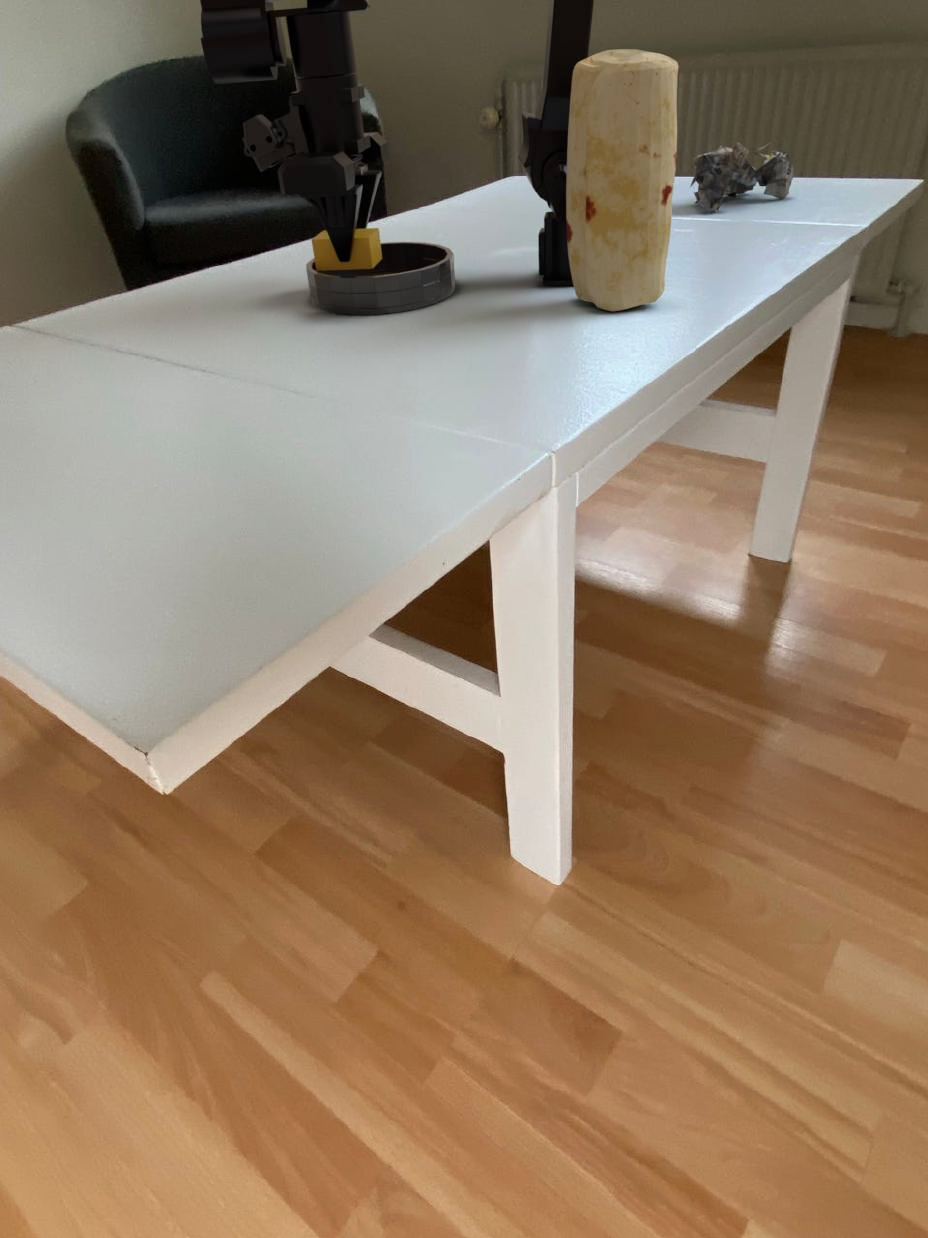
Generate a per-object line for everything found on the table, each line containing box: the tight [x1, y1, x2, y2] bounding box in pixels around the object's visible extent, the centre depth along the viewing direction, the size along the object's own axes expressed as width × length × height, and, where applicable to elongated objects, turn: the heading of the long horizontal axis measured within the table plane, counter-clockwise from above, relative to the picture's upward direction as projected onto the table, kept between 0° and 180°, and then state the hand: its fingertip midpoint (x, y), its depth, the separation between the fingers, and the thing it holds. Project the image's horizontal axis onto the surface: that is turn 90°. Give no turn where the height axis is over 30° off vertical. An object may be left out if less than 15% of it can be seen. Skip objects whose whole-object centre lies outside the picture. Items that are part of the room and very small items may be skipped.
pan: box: [305, 241, 456, 316], centre depth 85 cm, size 15×15×4 cm
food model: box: [566, 48, 680, 313], centre depth 72 cm, size 10×7×20 cm
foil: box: [688, 141, 795, 214], centre depth 111 cm, size 12×11×15 cm
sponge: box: [311, 227, 382, 271], centre depth 84 cm, size 6×4×3 cm
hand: (350, 255), depth 84 cm, fingers closed on sponge, 4 cm apart
